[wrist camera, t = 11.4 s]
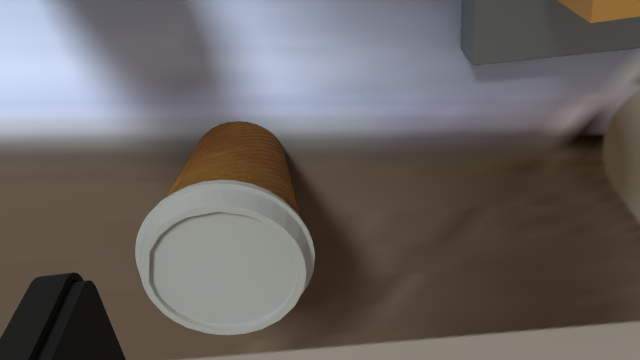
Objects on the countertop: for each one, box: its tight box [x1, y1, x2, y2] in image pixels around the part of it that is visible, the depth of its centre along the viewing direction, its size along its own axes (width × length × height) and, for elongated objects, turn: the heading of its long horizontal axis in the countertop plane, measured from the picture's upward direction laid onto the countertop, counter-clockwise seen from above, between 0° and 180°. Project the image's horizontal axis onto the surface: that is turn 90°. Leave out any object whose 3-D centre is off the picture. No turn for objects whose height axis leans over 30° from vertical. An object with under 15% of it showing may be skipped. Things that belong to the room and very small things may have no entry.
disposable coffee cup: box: [135, 122, 315, 335], centre depth 37 cm, size 10×10×12 cm
